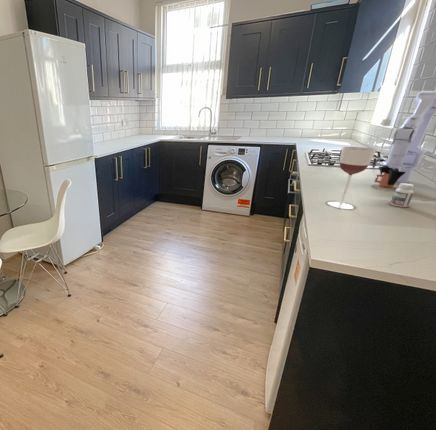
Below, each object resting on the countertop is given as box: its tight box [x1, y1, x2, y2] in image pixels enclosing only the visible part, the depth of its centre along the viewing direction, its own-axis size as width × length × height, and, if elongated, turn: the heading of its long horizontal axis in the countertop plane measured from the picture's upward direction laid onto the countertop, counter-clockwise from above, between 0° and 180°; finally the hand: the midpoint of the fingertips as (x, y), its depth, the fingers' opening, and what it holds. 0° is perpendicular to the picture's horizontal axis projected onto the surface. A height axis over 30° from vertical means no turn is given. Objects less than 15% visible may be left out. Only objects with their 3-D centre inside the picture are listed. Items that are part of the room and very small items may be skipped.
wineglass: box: [327, 146, 377, 210], centre depth 110 cm, size 9×10×23 cm
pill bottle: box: [390, 182, 415, 208], centre depth 113 cm, size 5×5×9 cm
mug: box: [373, 172, 395, 189], centre depth 136 cm, size 8×6×7 cm
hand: (386, 183), depth 136 cm, fingers closed on mug, 5 cm apart
